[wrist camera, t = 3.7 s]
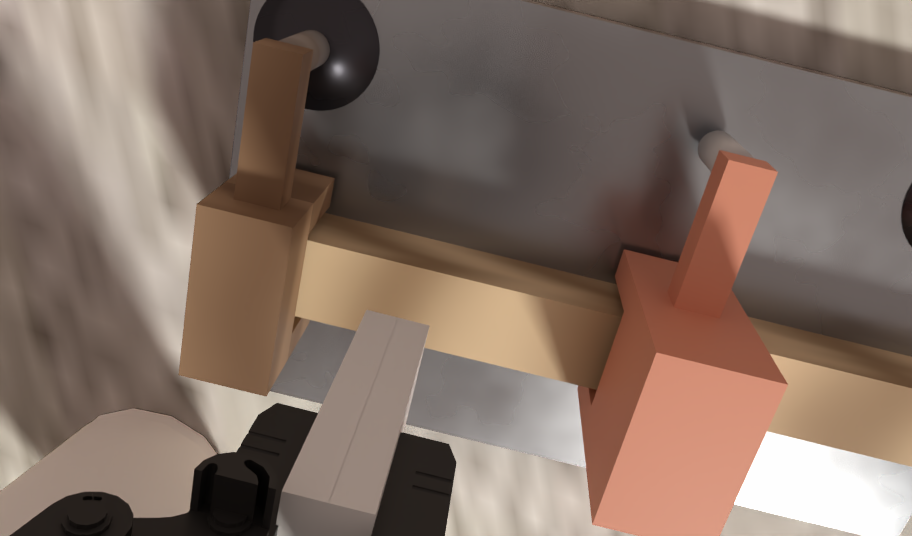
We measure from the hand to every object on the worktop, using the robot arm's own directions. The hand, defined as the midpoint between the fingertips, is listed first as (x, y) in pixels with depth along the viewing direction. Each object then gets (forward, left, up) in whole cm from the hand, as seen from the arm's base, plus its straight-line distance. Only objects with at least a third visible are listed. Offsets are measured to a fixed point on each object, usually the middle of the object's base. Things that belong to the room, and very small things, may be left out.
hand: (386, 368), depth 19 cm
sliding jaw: (+7, +2, -6) cm, 10 cm away
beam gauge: (+6, +2, -7) cm, 9 cm away
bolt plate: (+6, +1, -8) cm, 10 cm away
